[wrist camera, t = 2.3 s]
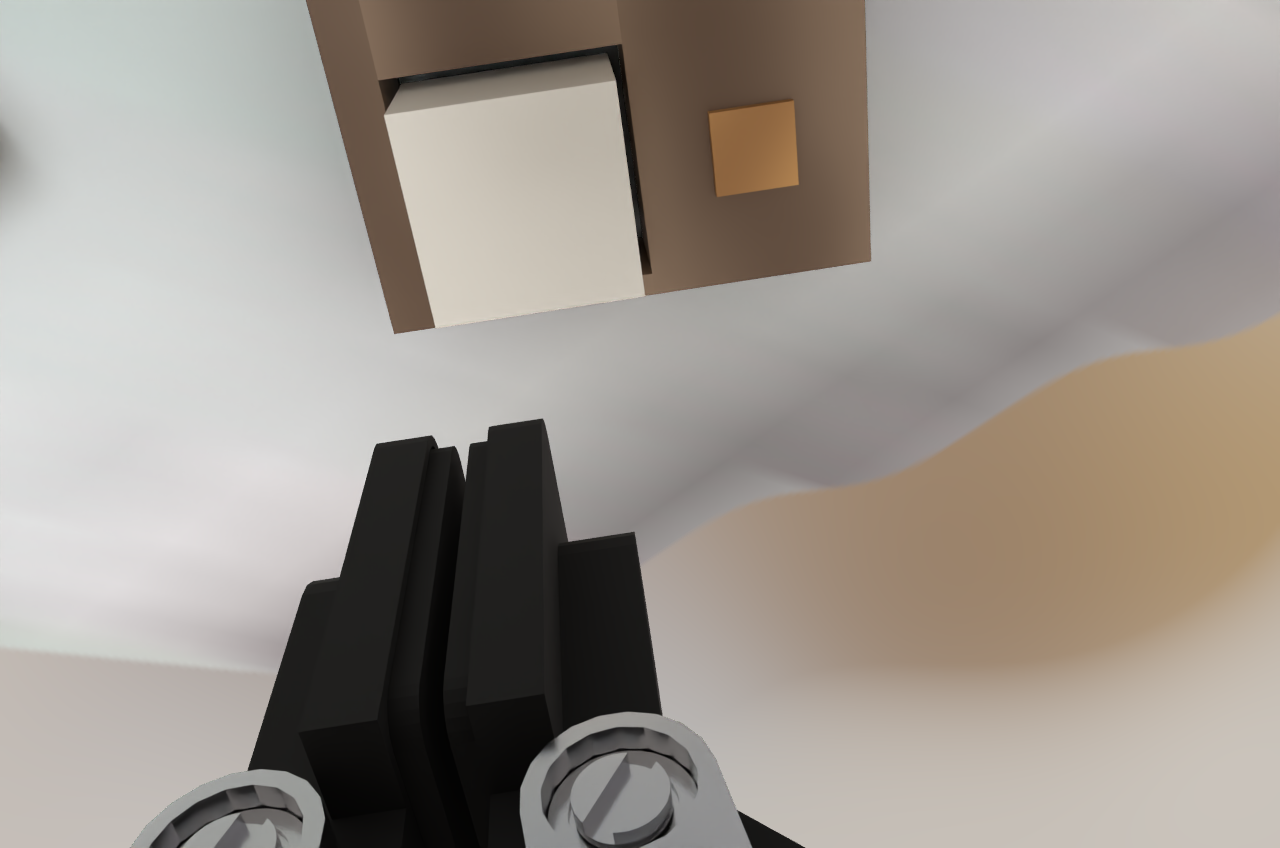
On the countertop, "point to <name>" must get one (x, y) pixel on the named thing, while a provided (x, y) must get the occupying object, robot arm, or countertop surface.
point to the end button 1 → (517, 189)
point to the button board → (642, 123)
